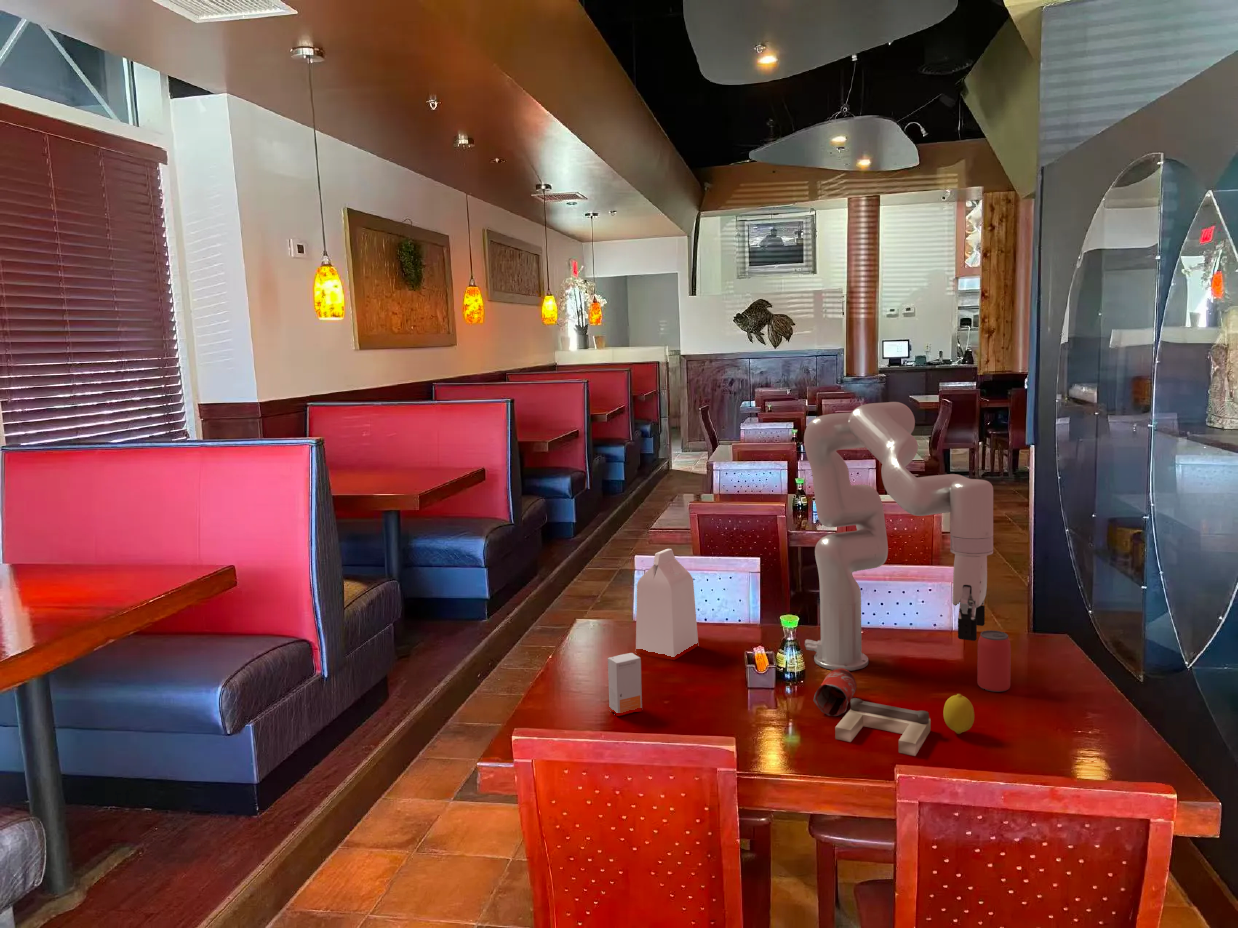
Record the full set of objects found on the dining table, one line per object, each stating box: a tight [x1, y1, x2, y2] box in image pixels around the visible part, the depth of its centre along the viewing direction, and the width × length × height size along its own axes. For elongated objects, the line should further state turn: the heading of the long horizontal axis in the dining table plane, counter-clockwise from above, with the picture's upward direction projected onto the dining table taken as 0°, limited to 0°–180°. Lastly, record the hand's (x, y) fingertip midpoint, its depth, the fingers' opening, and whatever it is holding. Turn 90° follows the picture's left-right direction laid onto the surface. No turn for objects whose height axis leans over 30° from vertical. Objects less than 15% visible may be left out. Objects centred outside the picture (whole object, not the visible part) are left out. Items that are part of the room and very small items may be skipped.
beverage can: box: [813, 668, 858, 717], centre depth 176 cm, size 7×12×7 cm, turn 153°
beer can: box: [976, 629, 1012, 693], centre depth 182 cm, size 7×7×12 cm
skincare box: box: [607, 652, 643, 713], centre depth 177 cm, size 6×4×12 cm
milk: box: [635, 548, 699, 657], centre depth 213 cm, size 12×12×26 cm
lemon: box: [942, 693, 975, 735], centre depth 160 cm, size 6×6×8 cm
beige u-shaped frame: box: [834, 697, 932, 757], centre depth 162 cm, size 15×12×4 cm
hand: (971, 631), depth 160 cm, fingers open, 9 cm apart
